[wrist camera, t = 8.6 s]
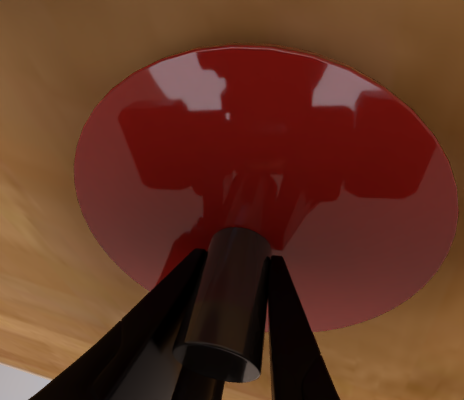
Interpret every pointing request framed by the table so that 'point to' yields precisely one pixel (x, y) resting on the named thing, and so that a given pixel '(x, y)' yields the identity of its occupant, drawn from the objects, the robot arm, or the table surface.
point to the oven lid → (264, 192)
